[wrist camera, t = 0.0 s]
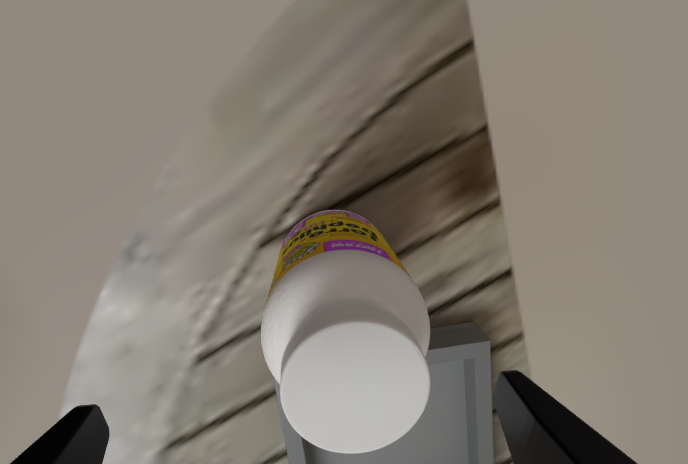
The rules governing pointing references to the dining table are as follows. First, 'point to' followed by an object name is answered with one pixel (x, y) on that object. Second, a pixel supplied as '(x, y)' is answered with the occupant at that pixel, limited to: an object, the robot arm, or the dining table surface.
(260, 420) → the dining table surface
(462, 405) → the tray
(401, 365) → the supplement bottle
